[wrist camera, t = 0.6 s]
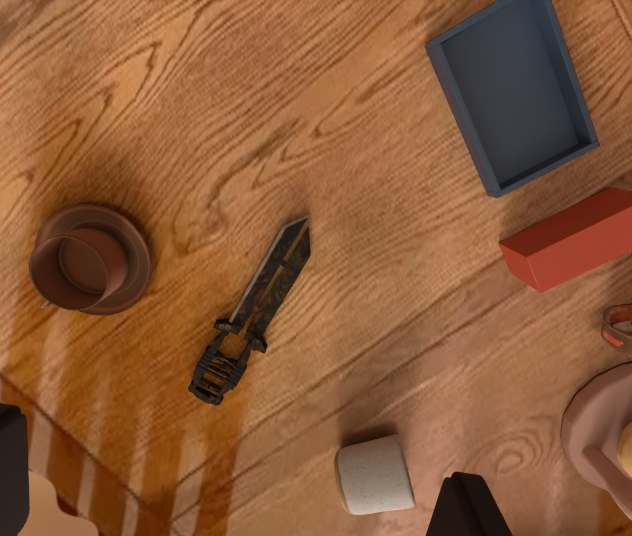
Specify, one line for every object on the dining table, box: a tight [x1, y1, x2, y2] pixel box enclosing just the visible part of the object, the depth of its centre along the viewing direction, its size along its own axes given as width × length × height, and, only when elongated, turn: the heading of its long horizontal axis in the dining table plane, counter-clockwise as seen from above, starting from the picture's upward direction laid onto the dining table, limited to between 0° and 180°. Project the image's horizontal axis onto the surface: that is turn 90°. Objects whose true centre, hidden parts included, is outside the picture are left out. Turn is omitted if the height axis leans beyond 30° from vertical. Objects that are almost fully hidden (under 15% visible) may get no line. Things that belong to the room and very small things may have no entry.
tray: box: [425, 0, 600, 198], centre depth 37 cm, size 16×10×2 cm, turn 29°
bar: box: [499, 188, 632, 293], centre depth 39 cm, size 4×12×6 cm, turn 119°
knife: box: [188, 214, 311, 406], centre depth 44 cm, size 25×6×1 cm, turn 144°
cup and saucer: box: [29, 204, 152, 315], centre depth 40 cm, size 12×12×6 cm
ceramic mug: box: [334, 435, 416, 515], centre depth 47 cm, size 11×8×8 cm
